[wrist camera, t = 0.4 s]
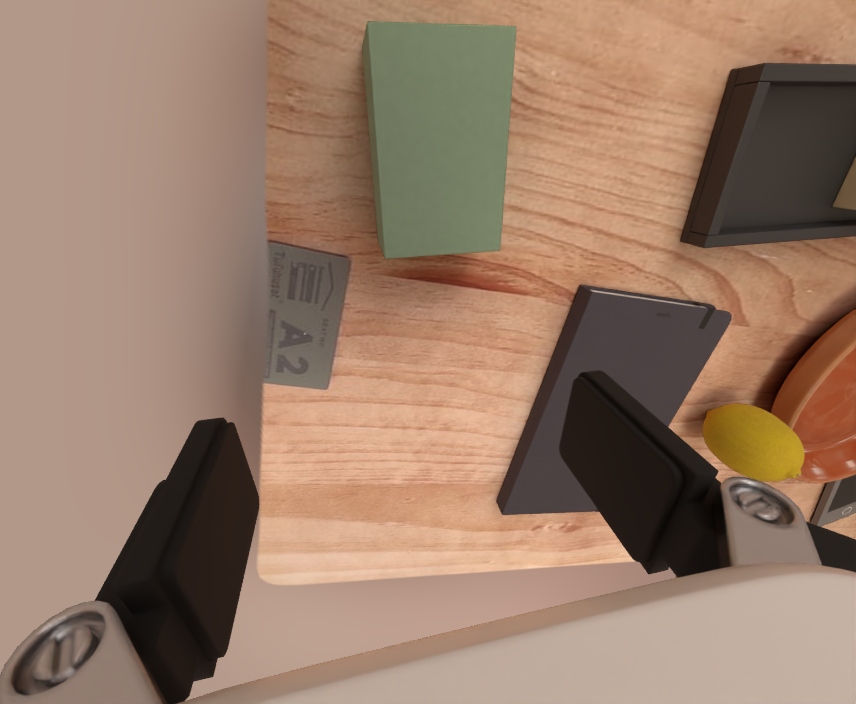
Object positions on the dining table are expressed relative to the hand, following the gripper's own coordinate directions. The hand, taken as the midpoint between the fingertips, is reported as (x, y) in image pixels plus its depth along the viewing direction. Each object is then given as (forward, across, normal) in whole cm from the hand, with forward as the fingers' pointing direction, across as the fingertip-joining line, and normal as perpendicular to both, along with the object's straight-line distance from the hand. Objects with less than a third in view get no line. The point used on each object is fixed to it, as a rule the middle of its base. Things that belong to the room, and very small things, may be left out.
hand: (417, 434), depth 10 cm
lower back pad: (+14, -3, -7) cm, 16 cm away
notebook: (+14, -18, +13) cm, 27 cm away
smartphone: (+14, -57, +30) cm, 66 cm away
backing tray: (+14, -32, -6) cm, 35 cm away
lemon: (+14, -30, +15) cm, 37 cm away
